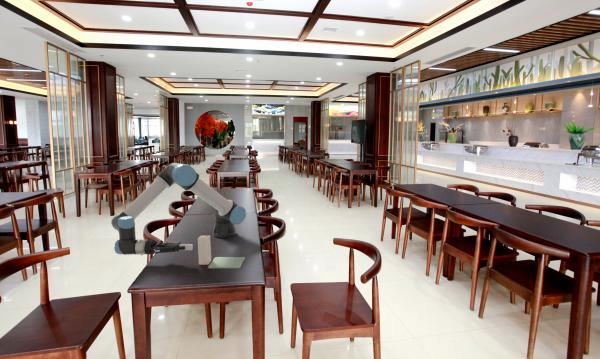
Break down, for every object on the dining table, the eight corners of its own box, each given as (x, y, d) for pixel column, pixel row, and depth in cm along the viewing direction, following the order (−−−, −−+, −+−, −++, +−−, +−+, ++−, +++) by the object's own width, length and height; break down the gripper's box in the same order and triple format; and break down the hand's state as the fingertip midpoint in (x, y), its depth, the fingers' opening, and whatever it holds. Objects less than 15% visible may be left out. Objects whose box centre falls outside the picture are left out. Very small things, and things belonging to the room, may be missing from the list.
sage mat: (215, 258, 187) (215, 257, 186) (244, 258, 186) (244, 257, 186) (208, 268, 173) (207, 267, 173) (240, 268, 172) (239, 267, 172)
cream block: (201, 261, 182) (200, 235, 180) (211, 261, 182) (210, 235, 180) (198, 264, 177) (197, 238, 175) (208, 264, 177) (207, 238, 175)
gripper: (152, 249, 186) (196, 249, 186) (141, 258, 173) (188, 258, 173) (151, 236, 185) (195, 236, 185) (140, 244, 172) (187, 244, 172)
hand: (192, 247), depth 179 cm, fingers closed
